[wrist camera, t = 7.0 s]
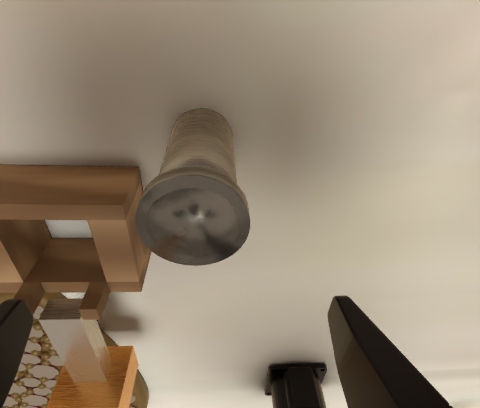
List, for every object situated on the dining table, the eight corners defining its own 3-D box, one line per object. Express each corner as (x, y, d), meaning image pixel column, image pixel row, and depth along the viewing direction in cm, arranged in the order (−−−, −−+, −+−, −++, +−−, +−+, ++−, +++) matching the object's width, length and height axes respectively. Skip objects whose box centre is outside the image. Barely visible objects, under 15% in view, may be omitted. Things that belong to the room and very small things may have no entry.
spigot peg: (238, 171, 20) (246, 264, 14) (168, 170, 20) (143, 266, 13) (241, 102, 17) (253, 178, 11) (161, 100, 17) (125, 177, 11)
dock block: (152, 248, 24) (134, 318, 19) (-30, 248, 23) (-98, 322, 18) (138, 167, 19) (111, 230, 15) (-85, 163, 19) (-192, 229, 14)
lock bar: (138, 364, 28) (117, 464, 22) (79, 365, 27) (43, 467, 22) (114, 282, 21) (75, 393, 16) (37, 282, 21) (-31, 397, 15)
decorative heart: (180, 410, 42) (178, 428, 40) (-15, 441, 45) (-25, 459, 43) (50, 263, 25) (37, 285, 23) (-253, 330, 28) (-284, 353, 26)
